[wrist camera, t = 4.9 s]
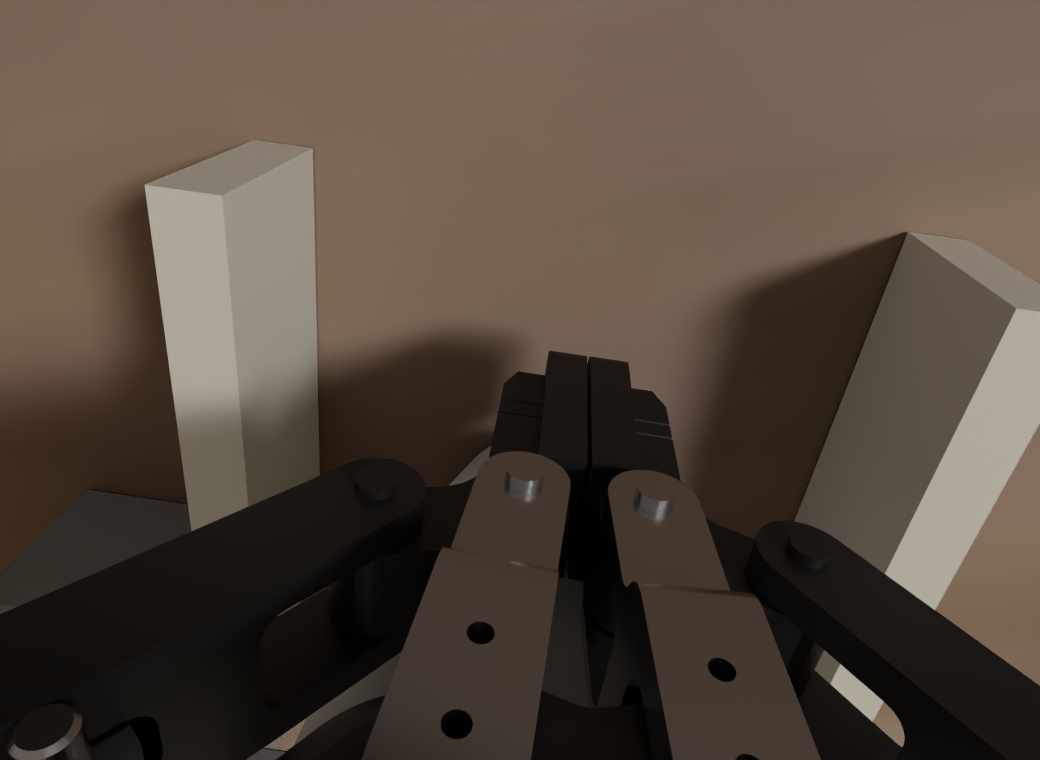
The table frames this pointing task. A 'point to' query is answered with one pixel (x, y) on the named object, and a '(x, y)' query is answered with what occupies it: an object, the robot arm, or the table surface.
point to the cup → (561, 660)
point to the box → (294, 391)
